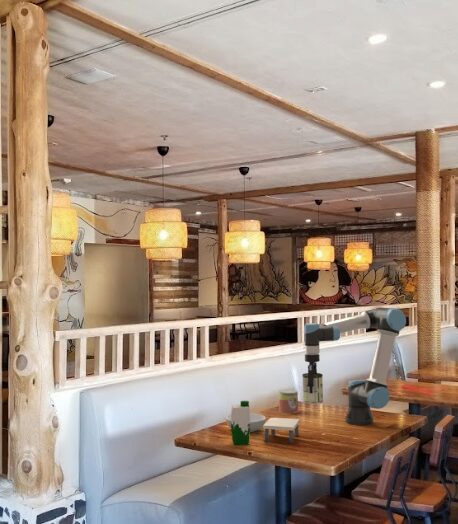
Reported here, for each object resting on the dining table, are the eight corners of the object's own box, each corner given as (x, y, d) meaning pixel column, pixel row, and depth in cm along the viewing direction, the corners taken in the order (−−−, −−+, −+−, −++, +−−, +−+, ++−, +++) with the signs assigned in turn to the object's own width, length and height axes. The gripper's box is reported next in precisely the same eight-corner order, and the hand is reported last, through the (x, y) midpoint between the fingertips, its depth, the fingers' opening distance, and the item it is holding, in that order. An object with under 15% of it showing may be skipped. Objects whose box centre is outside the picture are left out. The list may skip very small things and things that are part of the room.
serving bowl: (217, 430, 318) (217, 417, 318) (244, 424, 333) (244, 411, 334) (247, 437, 304) (247, 423, 304) (273, 430, 319) (273, 416, 320)
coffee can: (302, 400, 316) (302, 372, 317) (322, 400, 315) (322, 372, 316) (303, 404, 306) (302, 375, 306) (323, 404, 305) (323, 375, 305)
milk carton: (250, 445, 289) (250, 403, 289) (231, 446, 288) (231, 403, 289) (248, 440, 297) (248, 399, 298) (230, 441, 297) (230, 400, 297)
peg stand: (299, 435, 308) (299, 419, 308) (293, 444, 291) (293, 427, 291) (270, 433, 312) (270, 417, 312) (263, 442, 295) (262, 425, 295)
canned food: (286, 414, 357) (285, 393, 358) (275, 410, 367) (275, 390, 368) (301, 412, 363) (301, 391, 363) (290, 408, 373) (290, 389, 373)
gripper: (308, 351, 323) (309, 393, 323) (301, 356, 302) (302, 401, 301) (322, 351, 321) (323, 393, 321) (316, 356, 300) (317, 402, 299)
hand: (313, 397), depth 311 cm, fingers closed on coffee can, 10 cm apart
